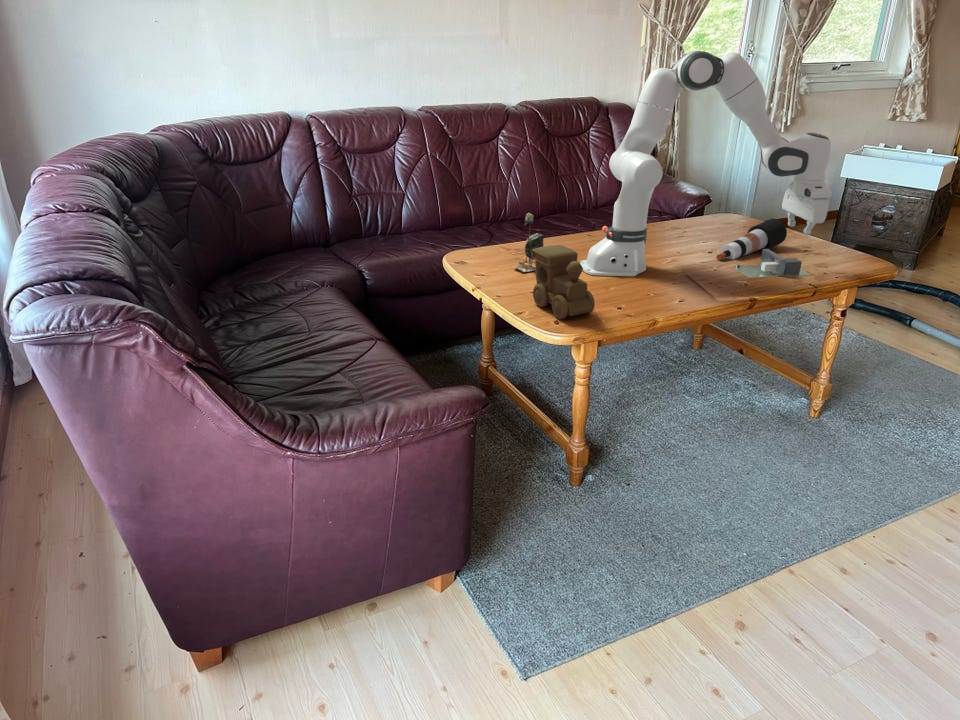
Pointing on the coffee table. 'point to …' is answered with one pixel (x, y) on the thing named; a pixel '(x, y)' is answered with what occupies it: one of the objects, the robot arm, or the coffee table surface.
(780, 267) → the housing
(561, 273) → the wooden toy train
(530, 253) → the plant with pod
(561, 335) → the coffee table surface
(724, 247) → the cable
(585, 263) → the robot arm
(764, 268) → the plug
